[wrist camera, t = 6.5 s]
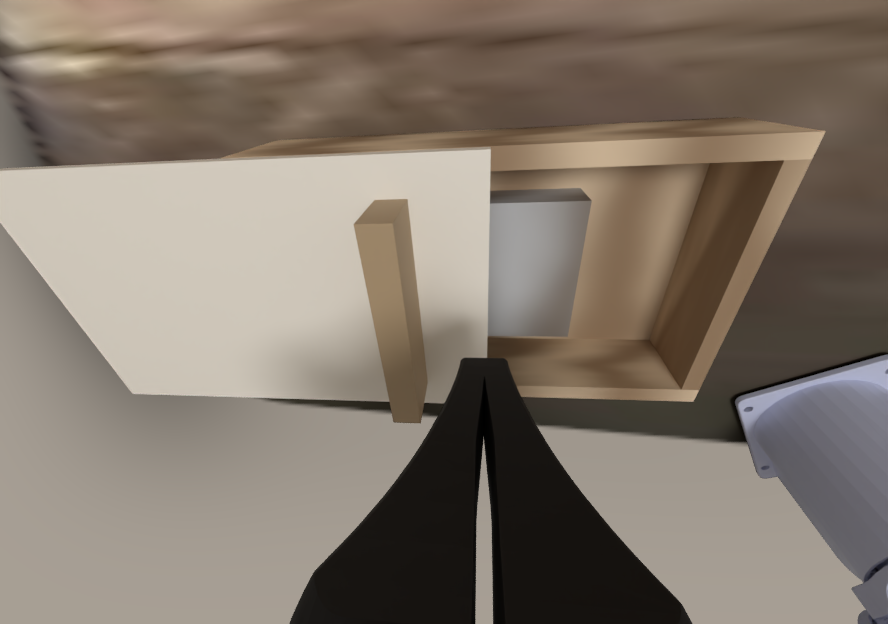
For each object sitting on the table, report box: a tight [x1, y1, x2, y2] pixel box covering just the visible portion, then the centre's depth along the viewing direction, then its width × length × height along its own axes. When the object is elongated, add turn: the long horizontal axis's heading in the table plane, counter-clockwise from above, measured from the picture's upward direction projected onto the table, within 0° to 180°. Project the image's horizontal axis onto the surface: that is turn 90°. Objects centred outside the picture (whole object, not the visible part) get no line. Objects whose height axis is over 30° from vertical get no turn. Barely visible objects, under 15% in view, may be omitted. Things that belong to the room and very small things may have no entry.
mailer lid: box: [0, 147, 491, 423], centre depth 15 cm, size 20×12×3 cm, turn 93°
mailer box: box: [220, 117, 826, 402], centre depth 17 cm, size 20×12×4 cm, turn 93°
